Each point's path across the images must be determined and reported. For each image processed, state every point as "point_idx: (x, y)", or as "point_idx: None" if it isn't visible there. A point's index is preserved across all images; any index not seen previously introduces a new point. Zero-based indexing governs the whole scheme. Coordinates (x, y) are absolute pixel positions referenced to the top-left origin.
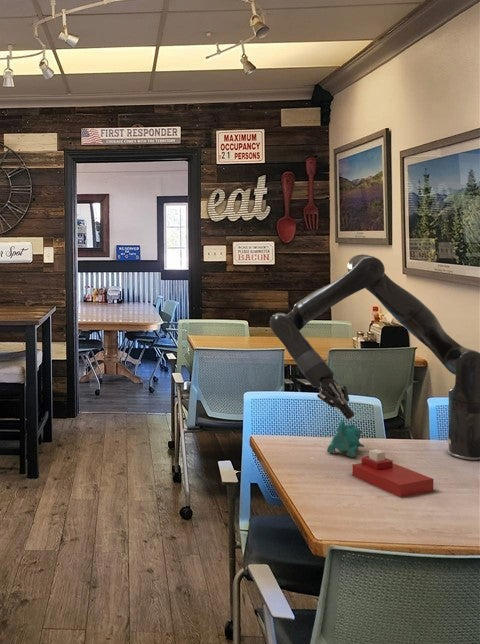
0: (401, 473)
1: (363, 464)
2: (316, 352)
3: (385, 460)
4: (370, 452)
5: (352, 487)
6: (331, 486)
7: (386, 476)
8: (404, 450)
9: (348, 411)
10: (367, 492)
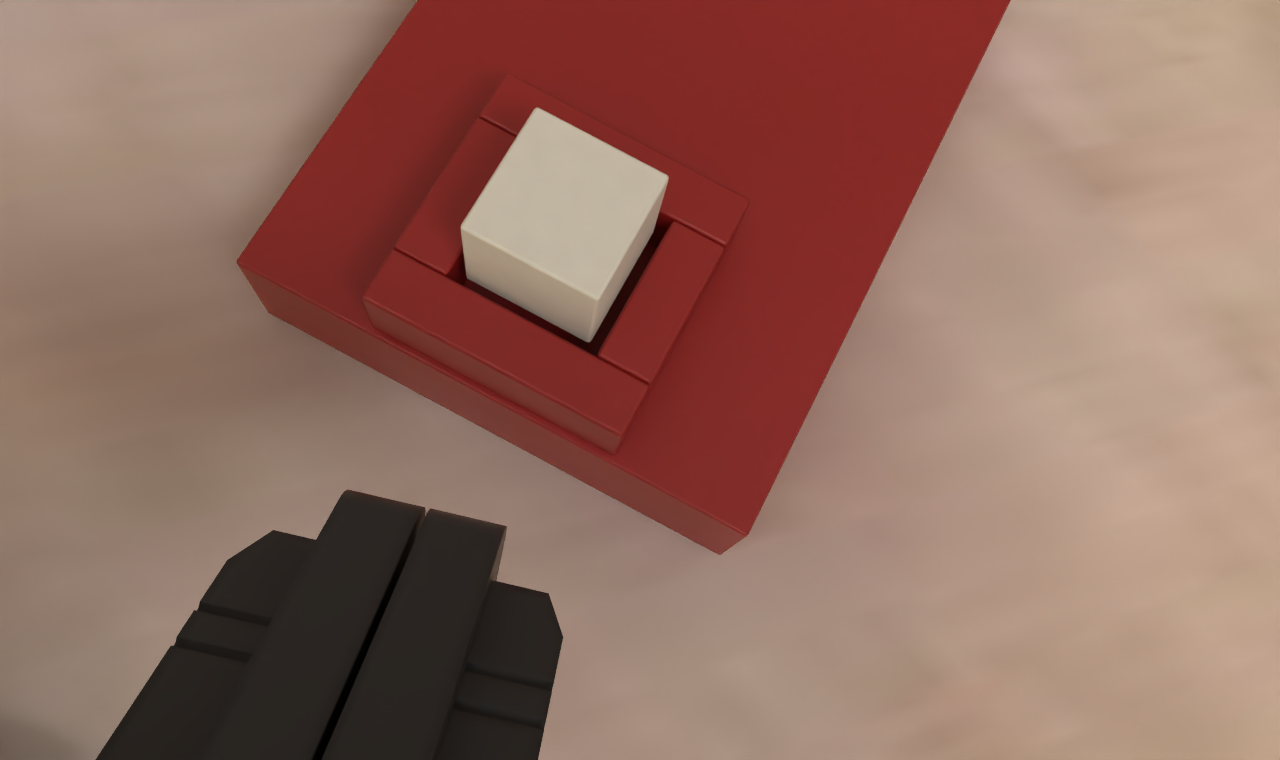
0: (663, 3)
1: (647, 419)
2: None
3: None
4: (608, 290)
5: (1069, 445)
6: (1214, 631)
7: (887, 108)
8: None
9: (479, 635)
10: (1085, 290)
